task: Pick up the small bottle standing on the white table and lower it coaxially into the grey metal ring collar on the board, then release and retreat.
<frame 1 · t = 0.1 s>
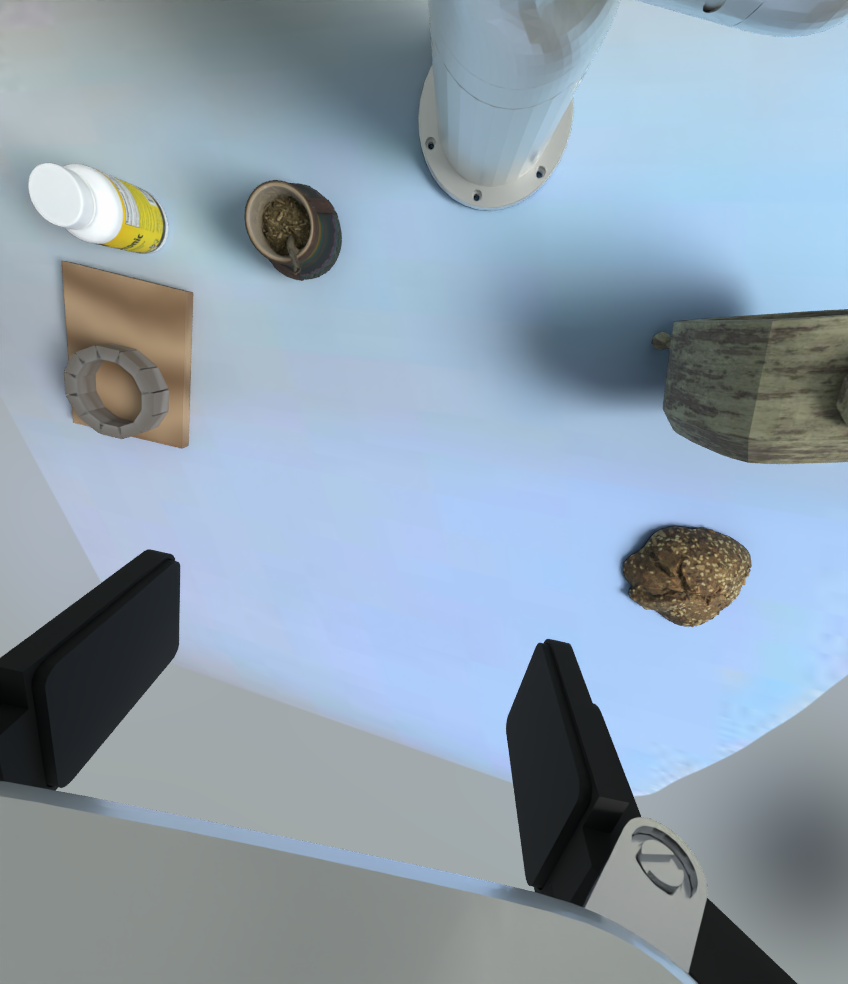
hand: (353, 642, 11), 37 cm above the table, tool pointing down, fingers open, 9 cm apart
supplement bottle: (144, 223, 41), on the table
bread roll: (677, 569, 51), on the table
collar board: (134, 360, 46), on the table
mate gourd: (312, 241, 41), on the table
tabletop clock: (709, 366, 43), on the table
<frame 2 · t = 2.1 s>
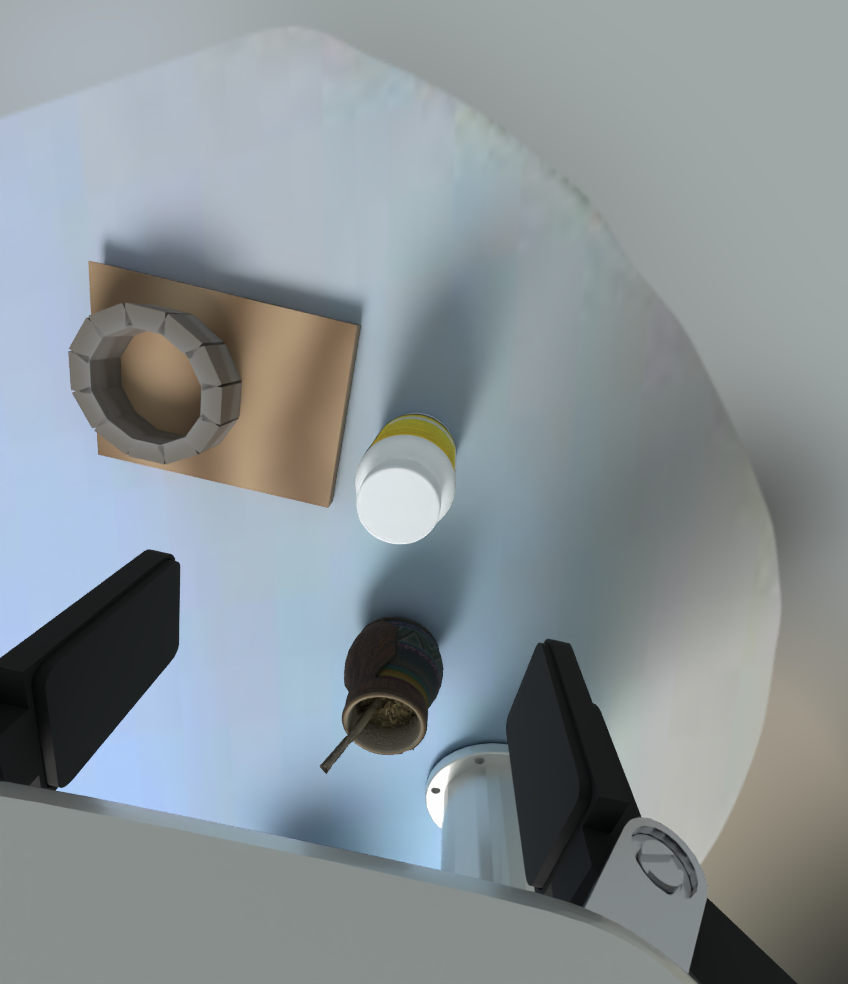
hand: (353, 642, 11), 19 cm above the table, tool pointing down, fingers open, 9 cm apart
supplement bottle: (416, 450, 30), on the table
collar board: (227, 392, 29), on the table
mate gourd: (398, 641, 35), on the table
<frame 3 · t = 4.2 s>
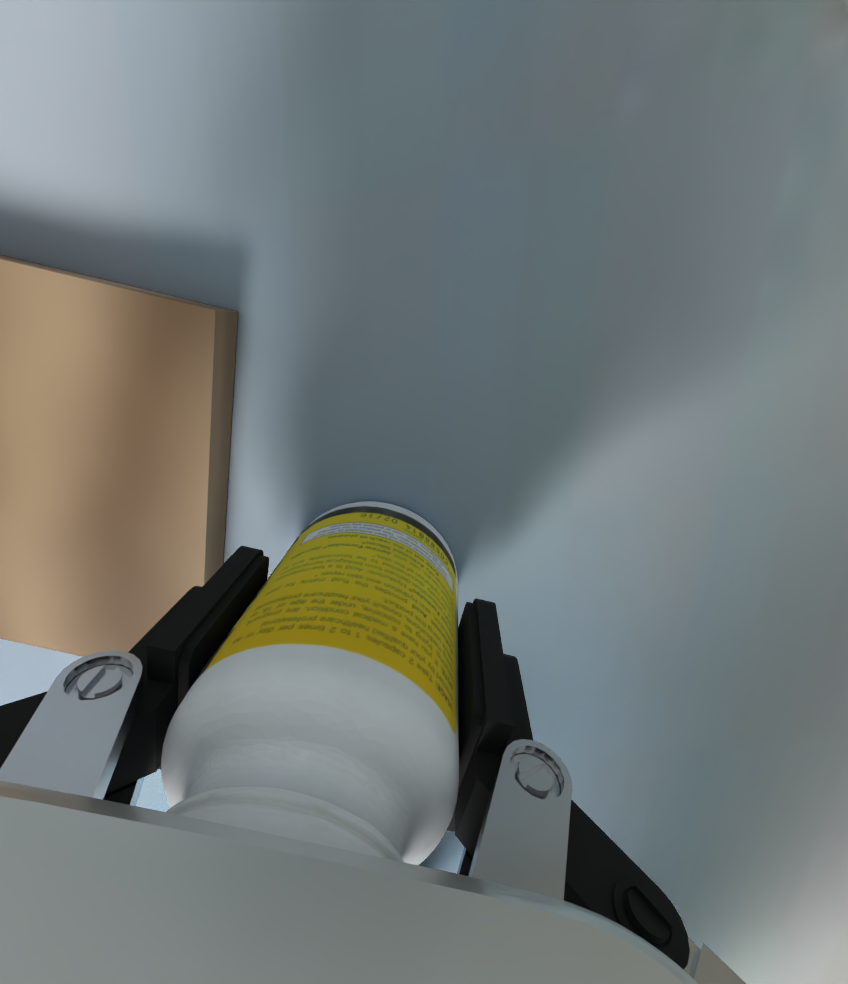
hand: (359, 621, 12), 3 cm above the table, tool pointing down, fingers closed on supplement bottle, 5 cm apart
supplement bottle: (375, 569, 14), on the table, touching gripper
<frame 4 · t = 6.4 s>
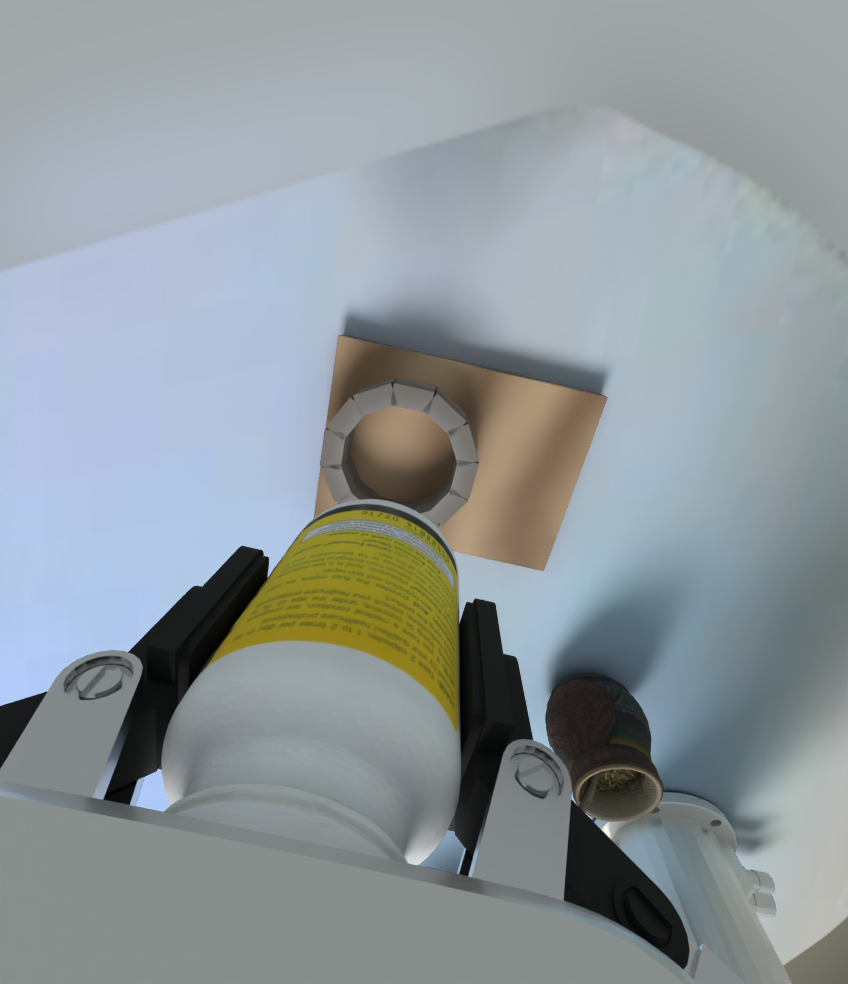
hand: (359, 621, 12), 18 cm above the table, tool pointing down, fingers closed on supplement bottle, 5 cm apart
supplement bottle: (376, 567, 14), point 15 cm above the table, touching gripper
collar board: (449, 457, 28), on the table
mate gourd: (582, 694, 35), on the table
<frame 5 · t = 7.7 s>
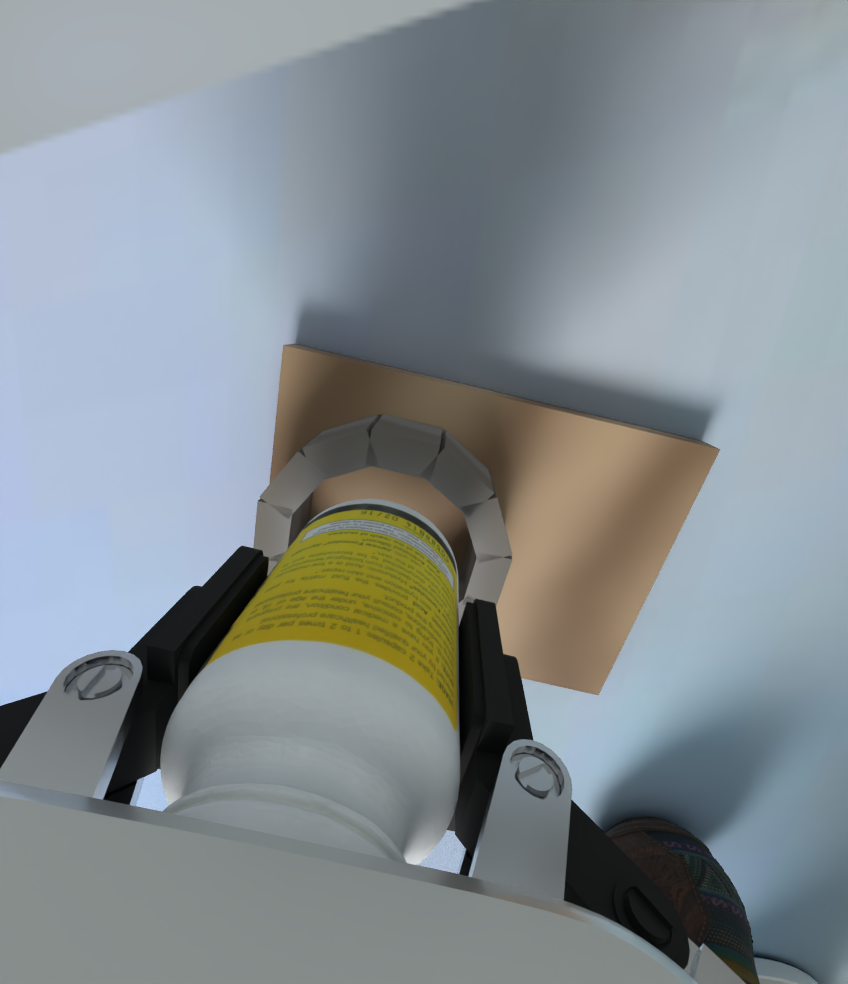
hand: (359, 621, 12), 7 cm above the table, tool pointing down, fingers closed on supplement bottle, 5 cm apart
supplement bottle: (375, 567, 14), point 5 cm above the table, touching gripper
collar board: (461, 530, 19), on the table
mate gourd: (637, 839, 25), on the table
when the fingers open (5 cm above the table, at t = 8.5 s): supplement bottle drops 1 cm, resting on collar board.
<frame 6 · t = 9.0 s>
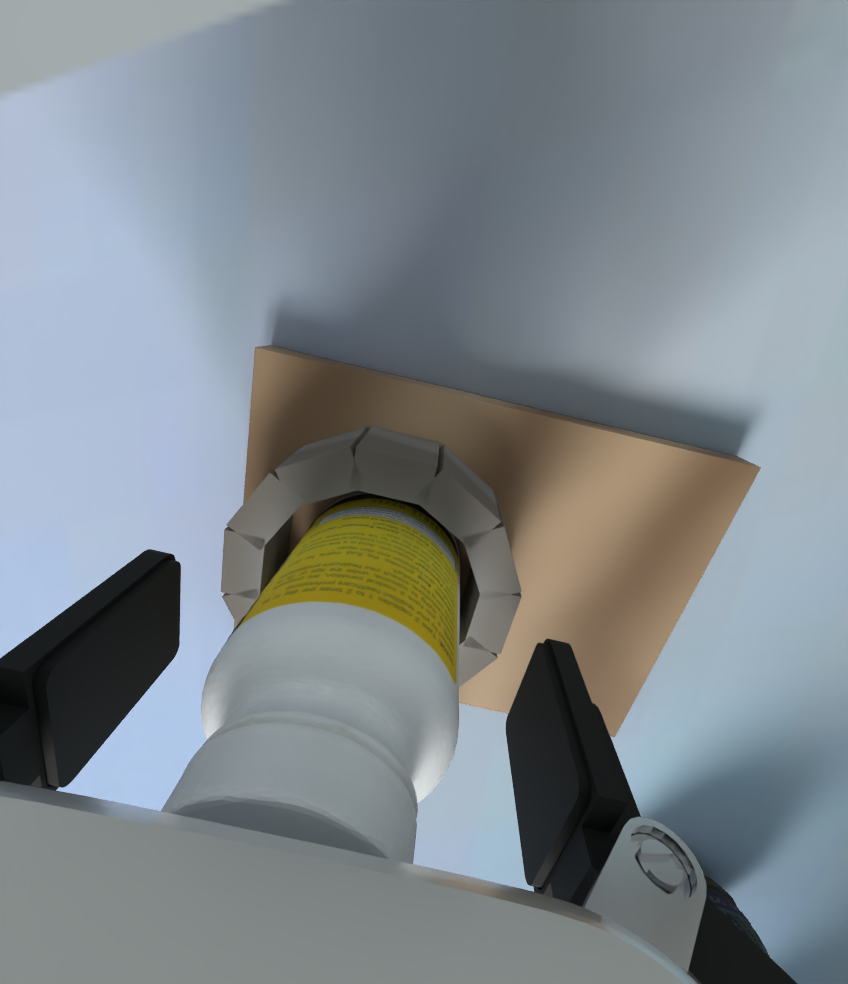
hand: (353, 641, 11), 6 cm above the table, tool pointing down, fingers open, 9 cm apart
supplement bottle: (384, 553, 16), point 1 cm above the table, touching collar board
collar board: (461, 555, 17), on the table
mate gourd: (652, 883, 23), on the table
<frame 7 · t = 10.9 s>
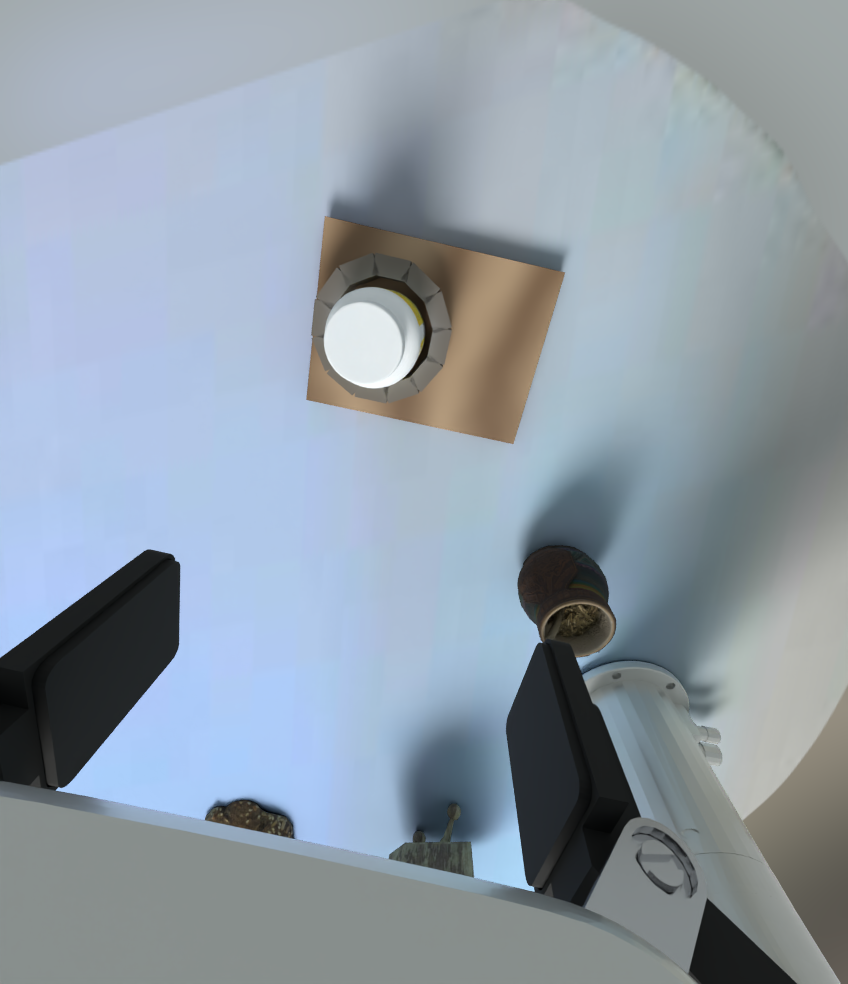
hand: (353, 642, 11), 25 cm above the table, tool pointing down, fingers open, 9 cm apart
supplement bottle: (387, 332, 31), point 1 cm above the table, touching collar board
bread roll: (251, 827, 57), on the table
collar board: (427, 339, 32), on the table
mate gourd: (551, 569, 39), on the table
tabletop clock: (434, 829, 55), on the table
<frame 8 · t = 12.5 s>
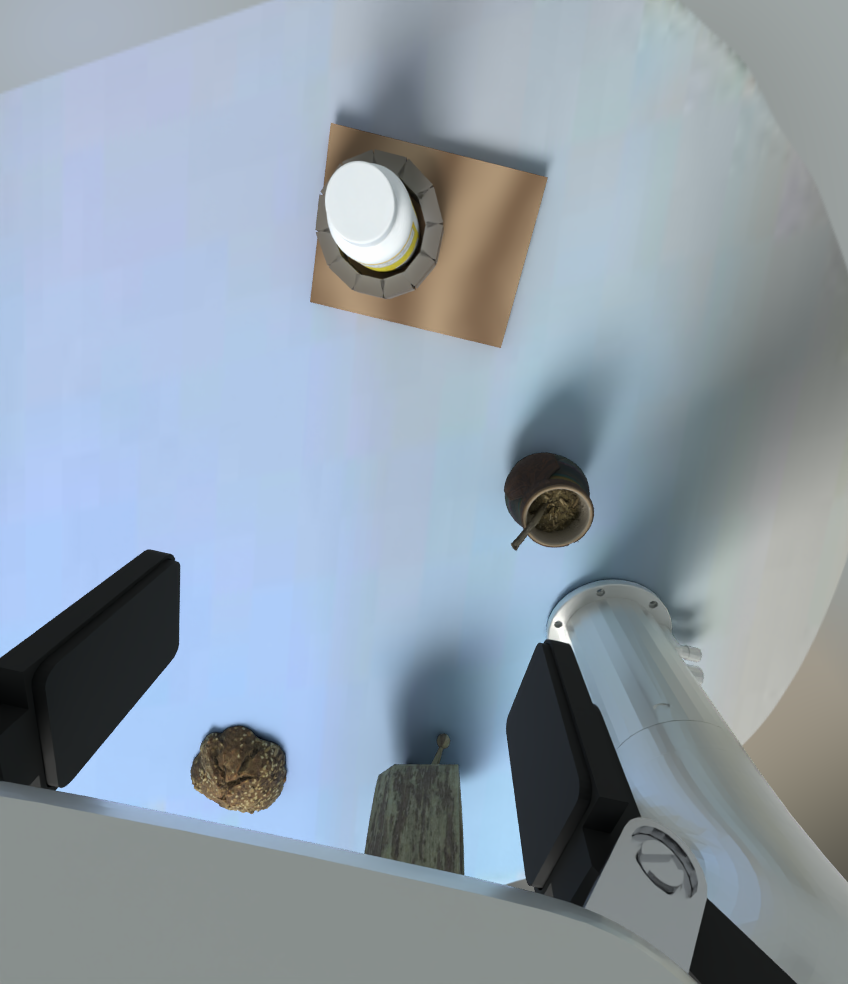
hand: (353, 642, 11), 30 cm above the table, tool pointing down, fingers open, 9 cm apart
supplement bottle: (385, 235, 34), point 1 cm above the table, touching collar board
bread roll: (245, 758, 58), on the table
collar board: (422, 246, 35), on the table
mate gourd: (537, 482, 41), on the table
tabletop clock: (424, 763, 56), on the table
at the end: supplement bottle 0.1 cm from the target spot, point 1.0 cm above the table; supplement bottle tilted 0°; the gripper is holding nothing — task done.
